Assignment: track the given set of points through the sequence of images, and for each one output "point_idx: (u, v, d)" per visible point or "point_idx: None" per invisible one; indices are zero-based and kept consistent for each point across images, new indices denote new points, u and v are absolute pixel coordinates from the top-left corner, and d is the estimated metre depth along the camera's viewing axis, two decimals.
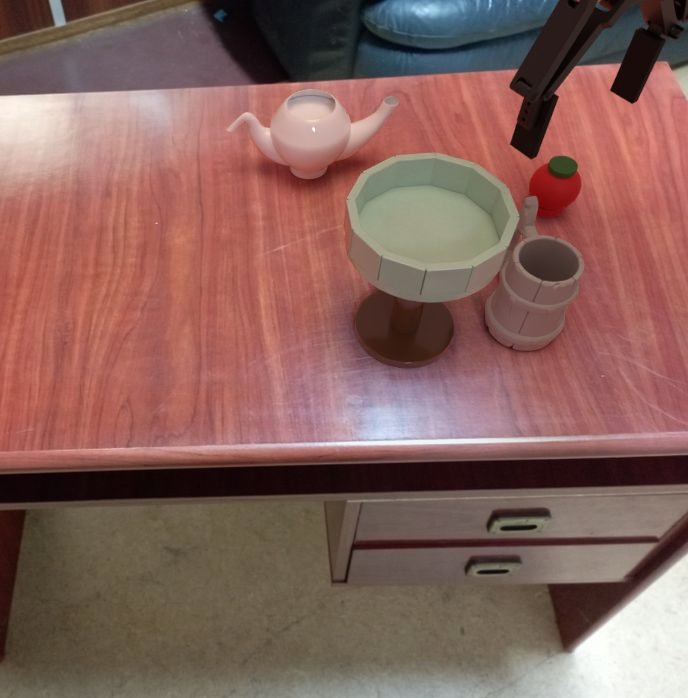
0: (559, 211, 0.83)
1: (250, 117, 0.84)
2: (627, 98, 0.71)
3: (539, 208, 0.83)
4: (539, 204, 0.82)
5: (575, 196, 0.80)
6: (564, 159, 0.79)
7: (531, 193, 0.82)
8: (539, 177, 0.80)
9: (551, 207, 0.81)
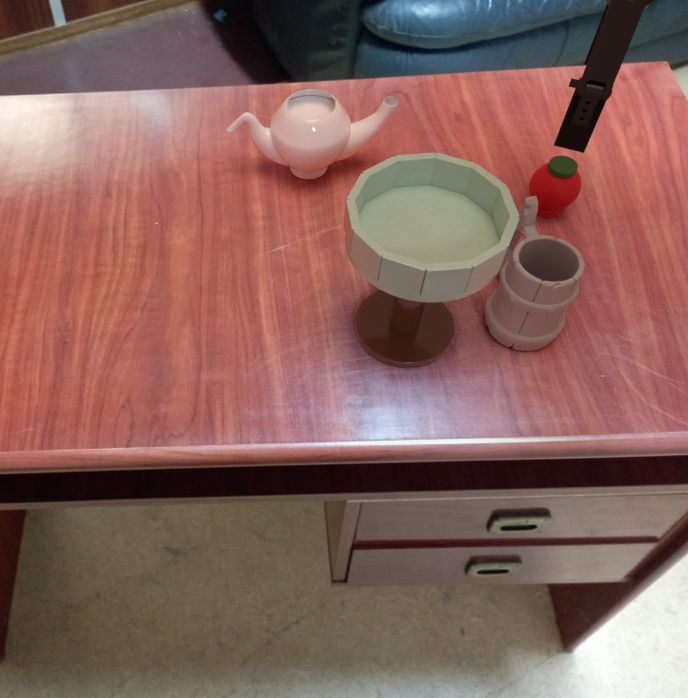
0: (559, 211, 0.83)
1: (250, 117, 0.84)
2: None
3: (539, 208, 0.83)
4: (539, 204, 0.82)
5: (575, 196, 0.80)
6: (564, 159, 0.79)
7: (531, 193, 0.82)
8: (539, 177, 0.80)
9: (551, 207, 0.81)
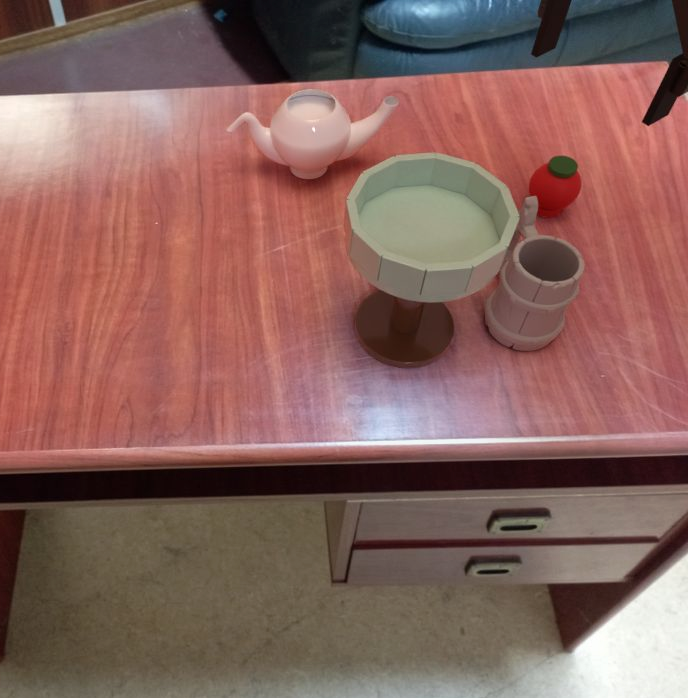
0: (559, 211, 0.83)
1: (250, 117, 0.84)
2: (551, 48, 0.74)
3: (539, 208, 0.83)
4: (539, 204, 0.82)
5: (575, 196, 0.80)
6: (564, 159, 0.79)
7: (531, 193, 0.82)
8: (539, 177, 0.80)
9: (551, 207, 0.81)
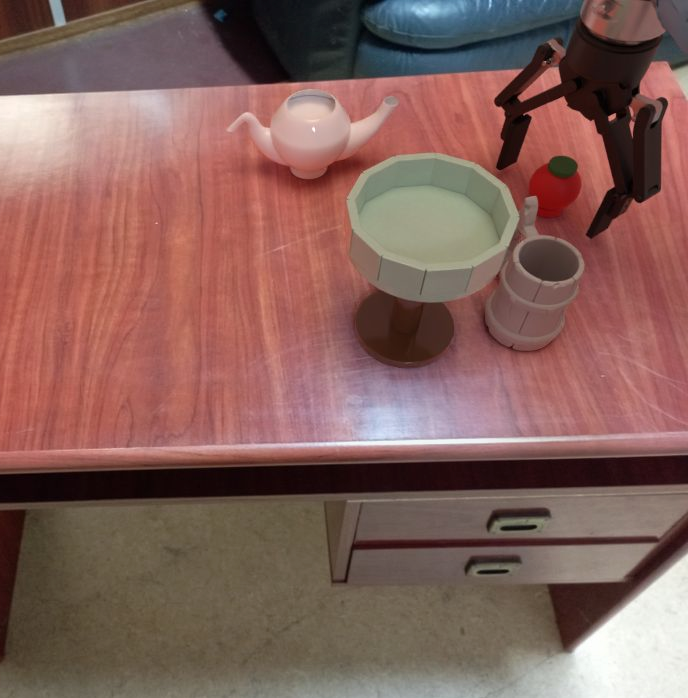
0: (559, 211, 0.83)
1: (250, 117, 0.84)
2: (513, 162, 0.86)
3: (539, 208, 0.83)
4: (539, 204, 0.82)
5: (575, 196, 0.80)
6: (564, 159, 0.79)
7: (531, 193, 0.82)
8: (539, 177, 0.80)
9: (551, 207, 0.81)
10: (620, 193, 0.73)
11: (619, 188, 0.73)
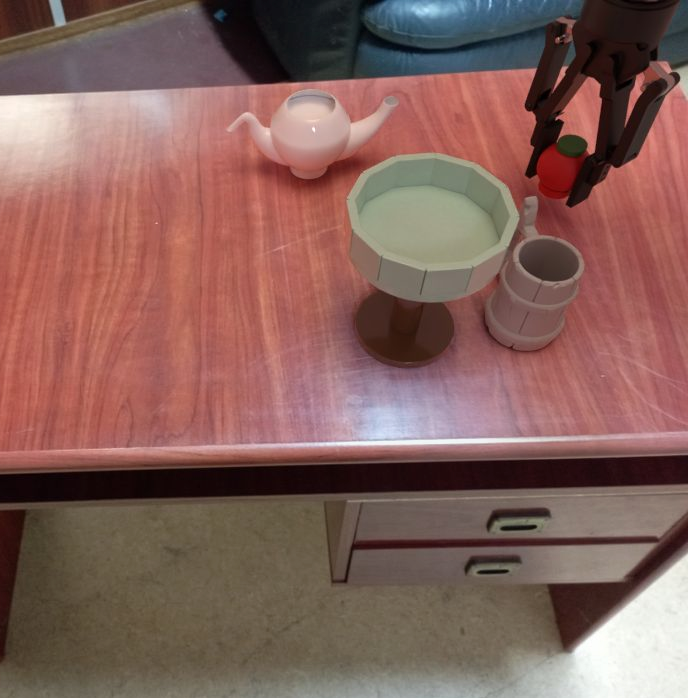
0: (568, 193, 0.80)
1: (250, 117, 0.84)
2: None
3: (547, 189, 0.80)
4: (547, 185, 0.79)
5: None
6: (573, 138, 0.77)
7: (539, 174, 0.79)
8: (547, 157, 0.78)
9: (560, 188, 0.78)
10: (598, 159, 0.73)
11: (598, 154, 0.73)
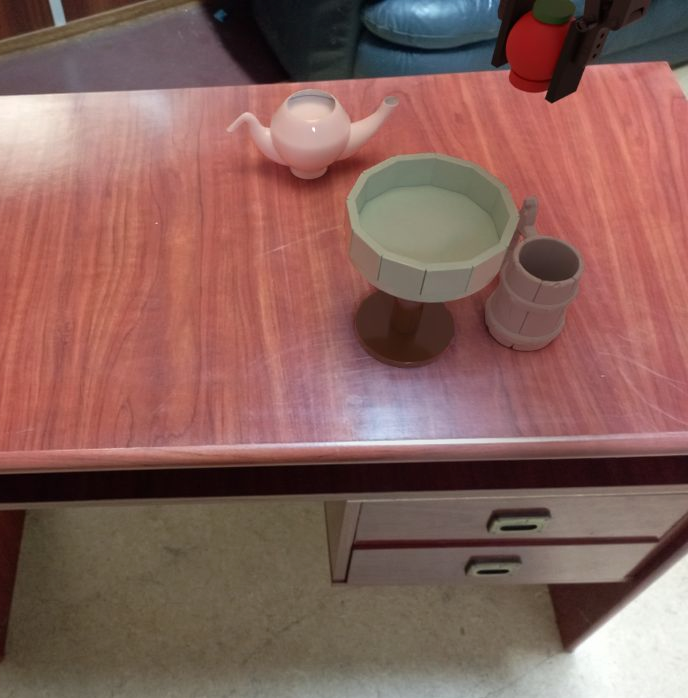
0: (549, 83, 0.58)
1: (250, 117, 0.84)
2: None
3: (520, 79, 0.58)
4: (520, 70, 0.57)
5: None
6: (555, 0, 0.55)
7: (509, 55, 0.57)
8: (519, 28, 0.55)
9: (537, 74, 0.56)
10: (588, 21, 0.51)
11: (589, 13, 0.51)
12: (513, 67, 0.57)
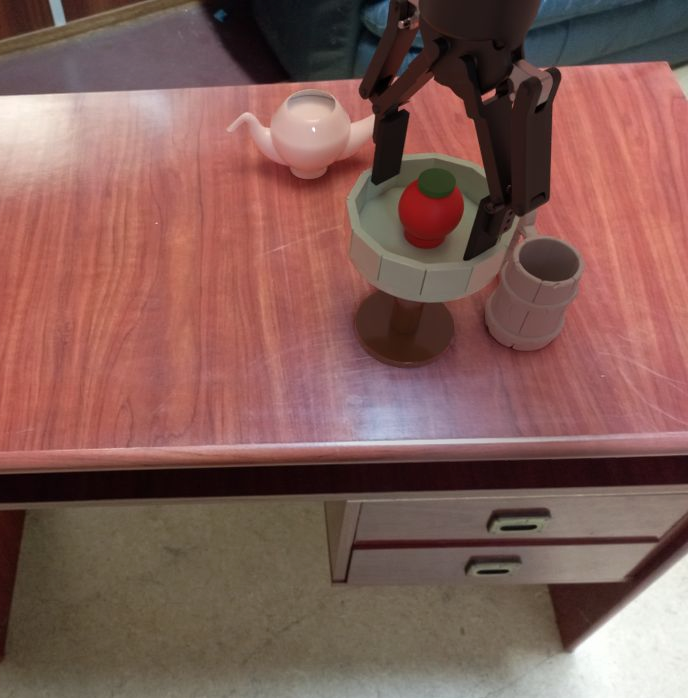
0: (439, 241, 0.62)
1: (250, 117, 0.84)
2: (394, 174, 0.65)
3: (412, 237, 0.63)
4: (410, 232, 0.61)
5: (455, 222, 0.60)
6: (438, 173, 0.59)
7: (400, 217, 0.61)
8: (407, 197, 0.60)
9: (425, 237, 0.61)
10: (495, 203, 0.52)
11: (495, 196, 0.52)
12: None
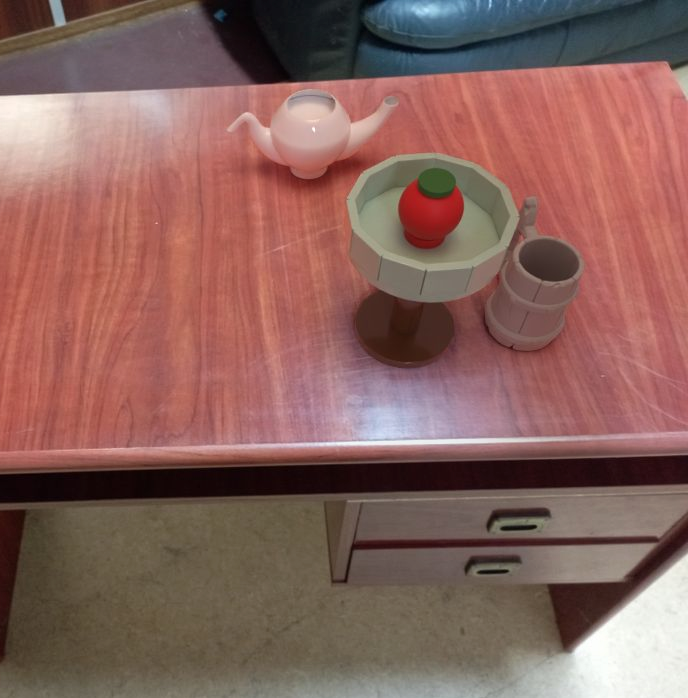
0: (439, 241, 0.62)
1: (250, 117, 0.84)
2: None
3: (412, 237, 0.63)
4: (410, 232, 0.61)
5: (455, 222, 0.60)
6: (438, 173, 0.59)
7: (400, 217, 0.61)
8: (407, 197, 0.60)
9: (425, 237, 0.61)
10: None
11: None
12: None
